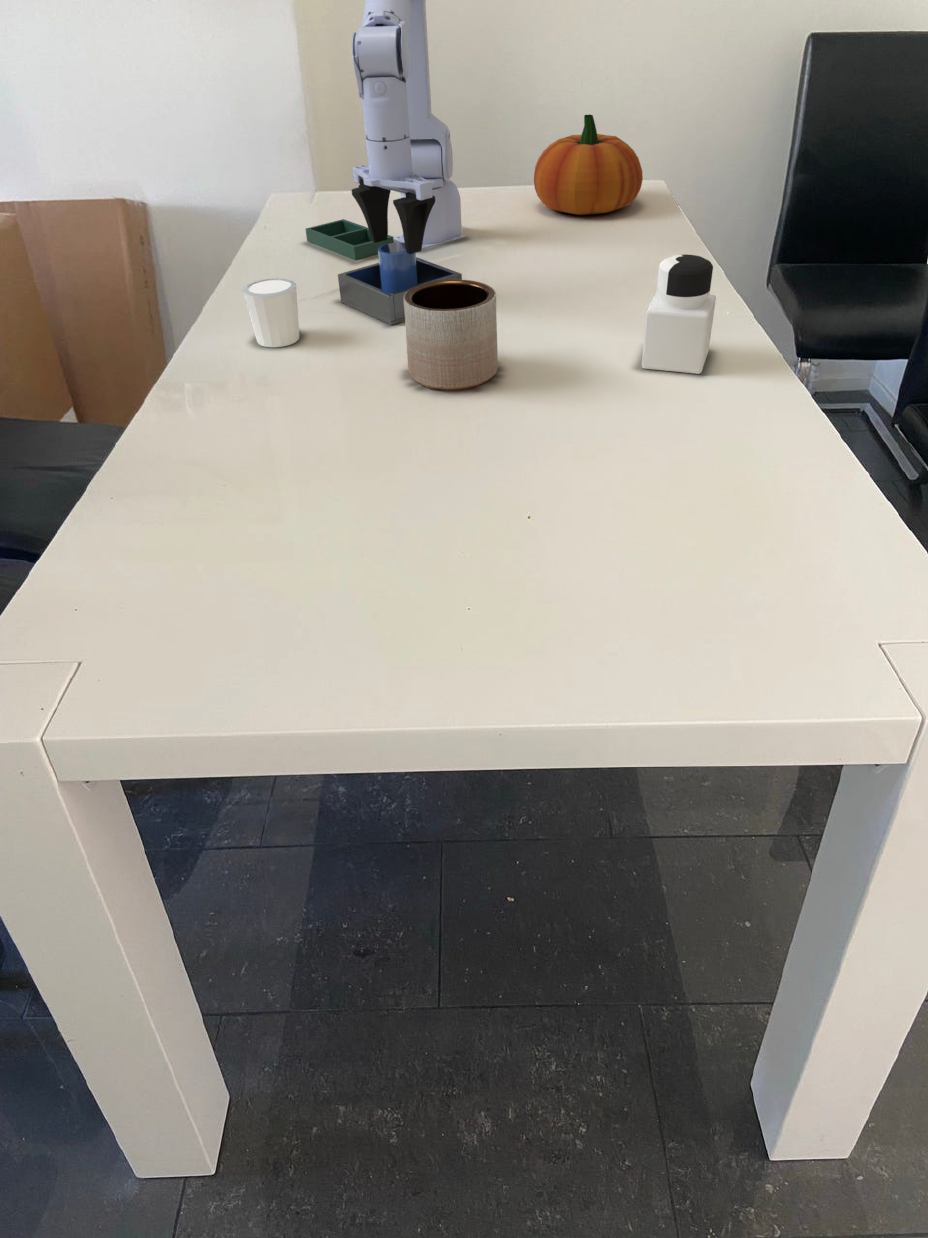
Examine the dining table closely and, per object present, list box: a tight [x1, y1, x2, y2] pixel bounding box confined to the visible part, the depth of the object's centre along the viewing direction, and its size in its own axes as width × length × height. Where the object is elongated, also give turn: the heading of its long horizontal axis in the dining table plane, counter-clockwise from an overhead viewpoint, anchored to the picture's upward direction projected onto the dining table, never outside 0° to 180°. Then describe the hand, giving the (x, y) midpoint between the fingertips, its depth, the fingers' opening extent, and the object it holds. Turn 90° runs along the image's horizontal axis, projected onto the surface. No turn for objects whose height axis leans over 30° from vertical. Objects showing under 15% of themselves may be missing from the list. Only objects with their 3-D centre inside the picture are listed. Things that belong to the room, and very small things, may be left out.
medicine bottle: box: [641, 254, 717, 375], centre depth 106 cm, size 7×7×12 cm
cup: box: [377, 242, 418, 293], centre depth 126 cm, size 5×5×7 cm
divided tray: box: [305, 218, 395, 261], centre depth 149 cm, size 8×15×2 cm, turn 39°
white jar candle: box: [242, 277, 300, 348], centre depth 118 cm, size 7×7×7 cm
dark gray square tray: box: [337, 256, 463, 326], centre depth 128 cm, size 13×13×4 cm
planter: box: [404, 279, 499, 391], centre depth 106 cm, size 11×11×10 cm
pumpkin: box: [533, 114, 644, 216], centre depth 159 cm, size 19×19×15 cm
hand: (396, 246), depth 124 cm, fingers open, 7 cm apart
